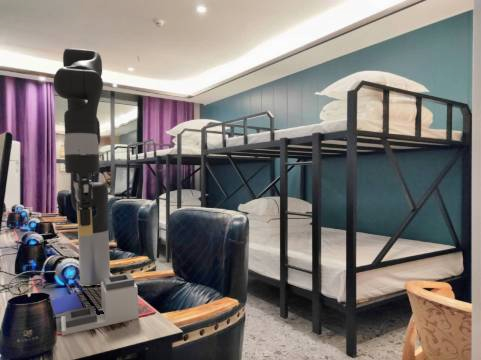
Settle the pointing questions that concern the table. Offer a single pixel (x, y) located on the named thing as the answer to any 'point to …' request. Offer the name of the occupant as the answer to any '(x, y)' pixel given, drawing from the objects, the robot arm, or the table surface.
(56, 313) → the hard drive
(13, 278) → the table surface
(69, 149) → the robot arm
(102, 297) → the console
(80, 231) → the plug
